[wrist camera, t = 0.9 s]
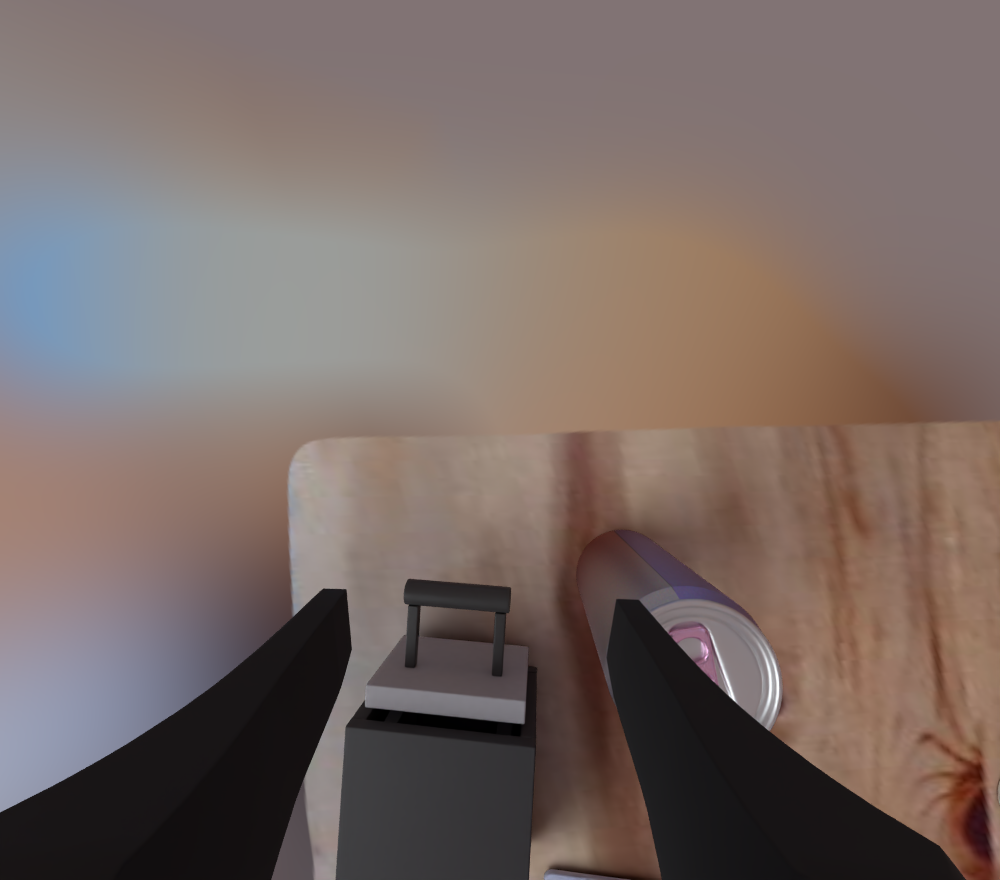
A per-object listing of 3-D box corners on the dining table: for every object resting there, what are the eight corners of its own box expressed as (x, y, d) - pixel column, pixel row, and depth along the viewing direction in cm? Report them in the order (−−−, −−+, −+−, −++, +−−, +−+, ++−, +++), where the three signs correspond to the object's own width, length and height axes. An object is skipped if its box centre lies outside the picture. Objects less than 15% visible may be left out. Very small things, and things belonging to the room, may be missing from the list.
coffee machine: (397, 653, 32) (345, 726, 23) (536, 666, 31) (535, 747, 22) (386, 825, 31) (329, 964, 23) (527, 843, 31) (522, 994, 22)
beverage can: (657, 521, 31) (770, 583, 16) (674, 611, 30) (806, 762, 15) (568, 535, 31) (595, 608, 16) (583, 624, 31) (626, 782, 16)
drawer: (408, 561, 31) (371, 590, 24) (533, 570, 30) (531, 603, 23) (393, 794, 31) (352, 890, 24) (520, 809, 30) (514, 914, 23)
